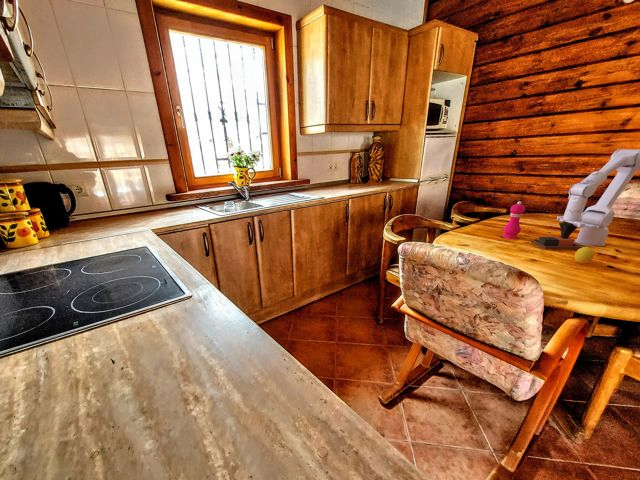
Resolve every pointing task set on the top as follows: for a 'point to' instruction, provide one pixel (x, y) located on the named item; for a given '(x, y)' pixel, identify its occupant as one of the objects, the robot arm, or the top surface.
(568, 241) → the pad
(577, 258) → the lemon
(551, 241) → the pad
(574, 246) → the backing tray
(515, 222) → the pepper mill
